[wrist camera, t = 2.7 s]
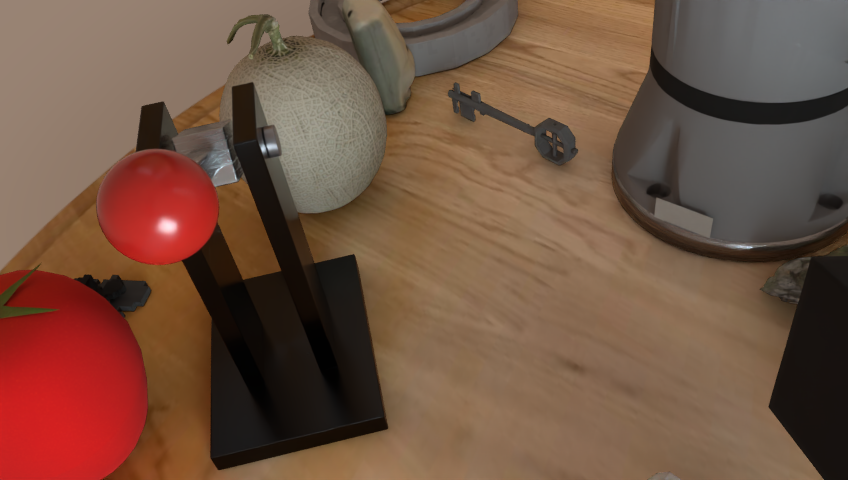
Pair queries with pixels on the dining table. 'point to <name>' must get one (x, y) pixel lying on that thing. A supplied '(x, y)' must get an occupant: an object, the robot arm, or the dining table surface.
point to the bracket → (278, 317)
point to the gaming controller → (664, 476)
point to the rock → (793, 277)
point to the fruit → (314, 114)
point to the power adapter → (381, 51)
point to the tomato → (65, 380)
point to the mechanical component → (430, 32)
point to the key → (521, 126)
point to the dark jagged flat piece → (119, 292)
